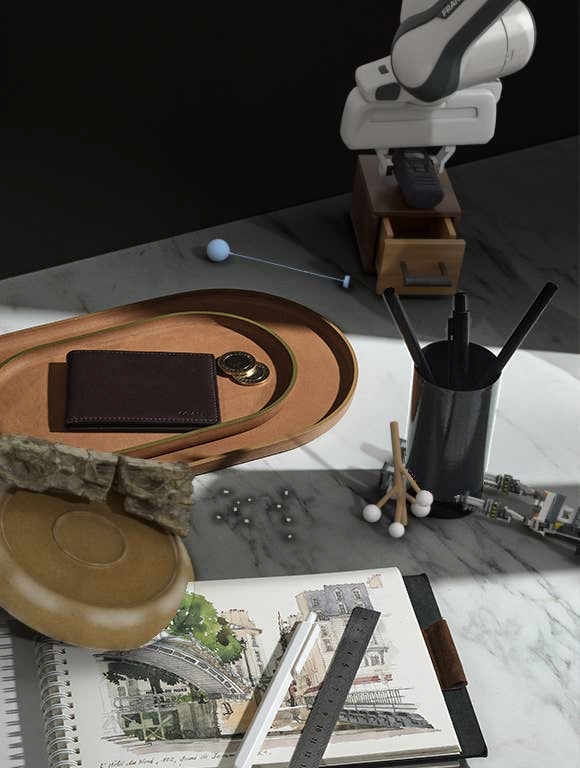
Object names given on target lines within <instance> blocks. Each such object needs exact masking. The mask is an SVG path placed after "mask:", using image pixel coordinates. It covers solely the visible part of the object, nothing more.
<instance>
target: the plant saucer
mask: <svg viewBox="0 0 580 768" xmlns="http://www.w3.org/2000/svg"><path fill="white" fill-rule="evenodd" d="M1 482H2V483H0V607H1V608H2V609H3V610H4V611H6V612H7V613H8V614H9V615H11V616H12V617H14V618H15V619H16V620H18V621H20V622H21V623H23V624H24V625H26V626H27V627H29V628H31V629H33V630H34V631H36V632H38V633H40V634H43V635H44V636H46V637H48V638H51V639H54V640H56V641H59V642H62V643H65V644H67V645H71V646H75V647H80V648H85V649H90V650H97V651H109V652H110V651H111V652H113V651H129V650H135V649H136V650H137V649H140V648H139V647H140V646H142V645H144V644H146V643H148V642H149V641H150V640H152V638H154V637H155V636H157V635H158V634H159V633H161V632H162V630H163V629H165V628H166V627H167V626H168V625H169V624H170V623H169V622H170V621H172V620H173V618H174V617H175V615H176V613H177V611H178V610H179V608H180V607H181V606H180V604H181V602H182V600H183V598H184V597H183V596H184V595H185V592H186V589H187V585H188V582H190V581H194V582H195V575H194V574H195V573H194V569H193V564H192V561H191V558H190V555H189V553H188V550H187V548H186V546H185V544H184V542H183V541H182V538H181V537H179V536H177V535H176V534H174V533H172V532H171V531H169V530H167V529H166V528H164V527H162V526H161V525H160V524H159V523H158V522H156V521H155V520H153V521H151V520H148V519H146V518H143V517H140V516H138V515H135V514H132V513H129V512H127V511H125V506H124V501H125V497H126V495H124V494H121V493H119V492H117V491H116V490H114V489H113V488H112V487H110V490H108V492H107V493H106V501H105V504H104V503H100V502H96V501H92V500H89V499H83V498H80V496H78V497H75V496H71V495H68V494H64V493H60V492H53V491H46V490H44V491H43V492H38V491H34V490H31V489H27V488H20V487H14V486H9V485H8V484H7V483H5V482H3V481H1Z"/></svg>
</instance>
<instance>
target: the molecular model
mask: <svg viewBox="0 0 580 768" xmlns="http://www.w3.org/2000/svg"><path fill="white" fill-rule="evenodd" d="M206 255H207V257H208V258H209V259H210V260H211V261H212V262H219V263H220V262H222V261H224V260H225V259H228V257H229V255H233V256H239V257H242V258H245V259H246V258H247V259H250V260H255V261H260V262H263V263H267V264H272V265H276V266H279V267H283V268H287V269H291V270H295V271H299V272H304V273H307V274H312V275H316V276H319V277H323V278H328V279H332V280H337V281H341V282H343V284H342V288H344V289H345V288H346V289H347V288H348V287H349V284H350V280H351V276H350V275H345V276H344V279H339V278H335V277H331V276H330V277H329V276H325V275H321V274H317V273H314V272H311V271H306V270H300V269H297V268H293V267H289V266H286V265H283V264H282V265H281V264H278V263H274V262H269V261H265V260H261V259H258V258H253V257H249V256H245V255H241V254H236V253H233V252H231V251H230V246H229V245H228V243H227V242H226V241H225V240H224V239H221V238H216V239H213V240H211V241H210V242H209V243H208V245H207V247H206Z"/></svg>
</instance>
